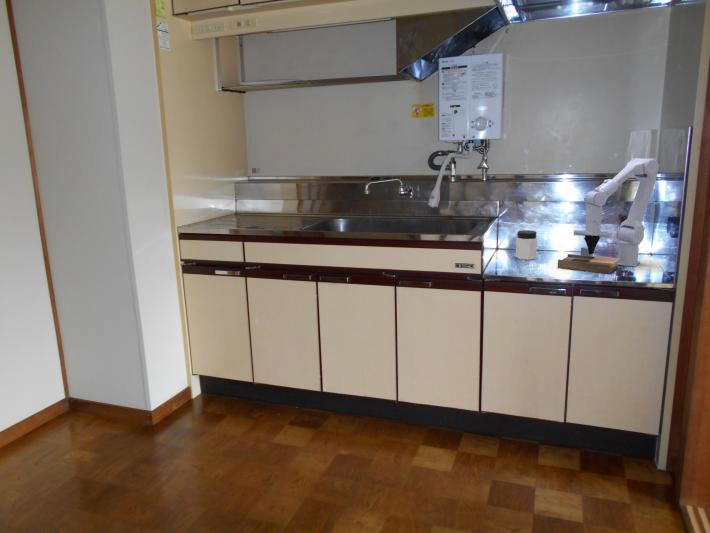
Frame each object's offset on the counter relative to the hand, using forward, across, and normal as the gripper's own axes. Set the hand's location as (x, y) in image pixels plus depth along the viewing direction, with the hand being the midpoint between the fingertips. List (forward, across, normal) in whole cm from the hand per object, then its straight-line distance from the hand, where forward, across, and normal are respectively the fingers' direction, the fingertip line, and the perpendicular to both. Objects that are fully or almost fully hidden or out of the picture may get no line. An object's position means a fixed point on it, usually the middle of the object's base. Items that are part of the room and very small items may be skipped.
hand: (591, 253), depth 226 cm
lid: (+3, +5, 0) cm, 6 cm away
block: (+6, -5, +13) cm, 15 cm away
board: (+6, -1, 0) cm, 6 cm away
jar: (+6, -29, +5) cm, 30 cm away
